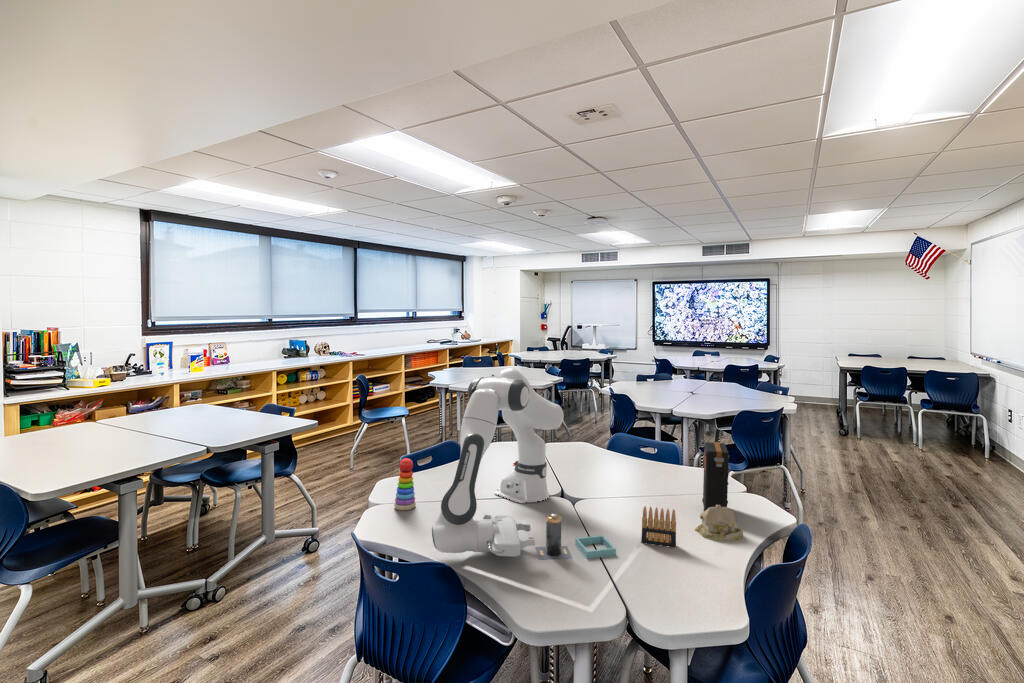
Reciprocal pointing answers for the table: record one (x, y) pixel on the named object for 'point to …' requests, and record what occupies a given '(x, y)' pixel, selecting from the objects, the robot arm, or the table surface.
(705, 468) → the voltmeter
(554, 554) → the cell
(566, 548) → the checker cradle
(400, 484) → the stacking toy
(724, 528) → the ceramic model
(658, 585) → the table surface
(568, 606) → the table surface
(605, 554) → the teal square frame
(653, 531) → the ammunition clip
